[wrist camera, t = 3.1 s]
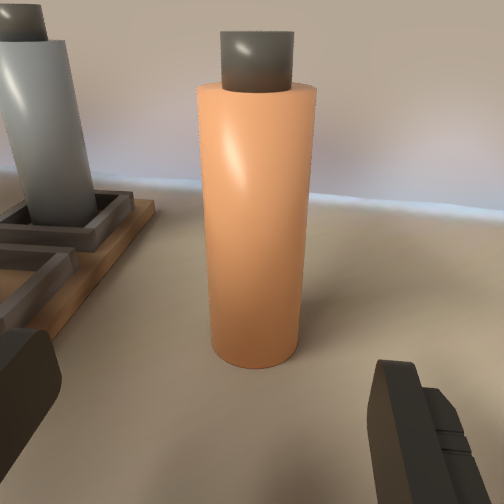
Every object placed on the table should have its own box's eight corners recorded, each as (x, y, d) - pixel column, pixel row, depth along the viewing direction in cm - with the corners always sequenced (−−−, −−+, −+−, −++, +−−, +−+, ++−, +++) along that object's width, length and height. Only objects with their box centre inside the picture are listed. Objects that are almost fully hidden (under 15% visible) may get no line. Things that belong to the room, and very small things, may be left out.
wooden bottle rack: (1, 404, 19) (-18, 360, 18) (-193, 384, 20) (-224, 341, 19) (155, 212, 38) (151, 184, 37) (52, 206, 39) (45, 179, 38)
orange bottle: (296, 372, 21) (323, 33, 13) (202, 364, 21) (178, 32, 14) (298, 313, 25) (319, 30, 17) (220, 308, 25) (208, 30, 18)
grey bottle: (82, 240, 30) (29, 2, 23) (21, 237, 31) (-50, 3, 24) (109, 214, 34) (72, 5, 27) (55, 211, 35) (4, 6, 28)
